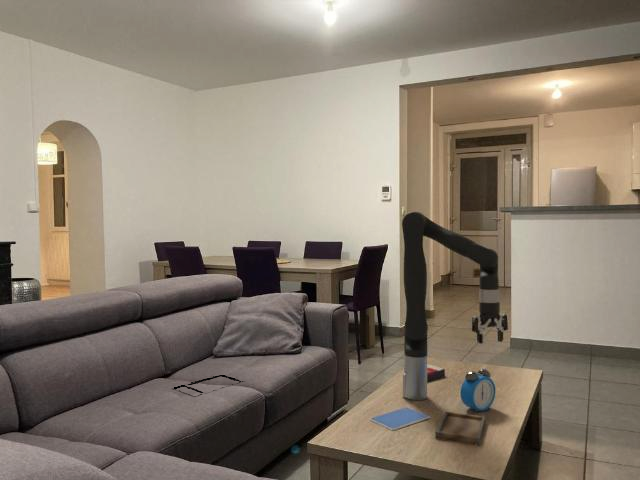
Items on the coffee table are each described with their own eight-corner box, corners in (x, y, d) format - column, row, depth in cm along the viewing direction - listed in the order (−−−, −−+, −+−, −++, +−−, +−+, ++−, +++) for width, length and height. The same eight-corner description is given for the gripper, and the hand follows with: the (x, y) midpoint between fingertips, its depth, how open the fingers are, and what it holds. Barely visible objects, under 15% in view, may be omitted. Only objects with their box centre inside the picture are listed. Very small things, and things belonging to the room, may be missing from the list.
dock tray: (435, 438, 177) (435, 431, 176) (445, 417, 195) (445, 411, 195) (479, 445, 171) (479, 438, 171) (485, 423, 190) (485, 416, 190)
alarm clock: (471, 415, 197) (472, 375, 196) (459, 409, 202) (459, 370, 202) (495, 408, 204) (496, 369, 203) (483, 403, 209) (483, 365, 209)
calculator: (405, 369, 244) (426, 362, 253) (405, 379, 244) (426, 371, 253) (423, 375, 235) (445, 367, 245) (423, 385, 236) (445, 376, 245)
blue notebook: (392, 432, 183) (392, 429, 183) (368, 421, 193) (368, 417, 193) (431, 419, 194) (431, 416, 194) (406, 409, 204) (406, 406, 204)
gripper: (499, 298, 211) (500, 339, 212) (467, 300, 208) (468, 341, 208) (511, 300, 204) (512, 342, 205) (478, 303, 201) (479, 345, 201)
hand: (490, 342), depth 206 cm, fingers open, 8 cm apart
